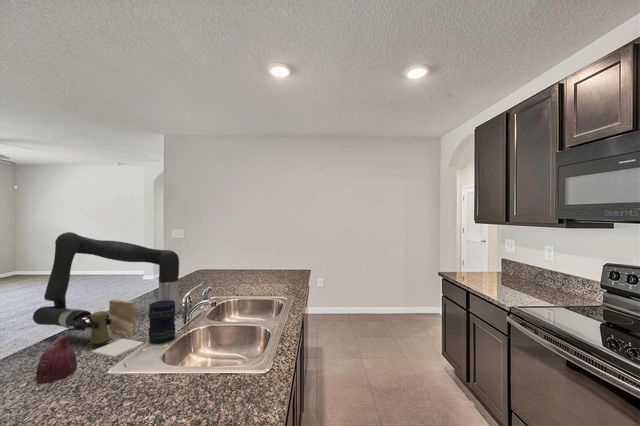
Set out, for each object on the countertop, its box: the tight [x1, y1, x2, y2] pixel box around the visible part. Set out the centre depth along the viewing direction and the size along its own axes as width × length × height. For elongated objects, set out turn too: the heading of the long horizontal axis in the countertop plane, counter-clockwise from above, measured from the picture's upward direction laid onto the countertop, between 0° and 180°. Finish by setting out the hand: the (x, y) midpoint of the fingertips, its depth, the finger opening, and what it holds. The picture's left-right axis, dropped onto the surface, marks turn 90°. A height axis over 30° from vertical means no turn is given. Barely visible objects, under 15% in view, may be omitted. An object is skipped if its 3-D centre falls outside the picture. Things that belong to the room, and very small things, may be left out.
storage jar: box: [148, 300, 176, 345], centre depth 123 cm, size 10×10×15 cm
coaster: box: [91, 338, 145, 358], centre depth 114 cm, size 12×12×1 cm
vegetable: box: [35, 332, 78, 384], centre depth 96 cm, size 10×10×15 cm
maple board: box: [107, 299, 138, 338], centre depth 129 cm, size 4×13×14 cm, turn 71°
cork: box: [89, 310, 109, 344], centre depth 117 cm, size 6×6×11 cm
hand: (104, 323), depth 116 cm, fingers closed on cork, 4 cm apart
